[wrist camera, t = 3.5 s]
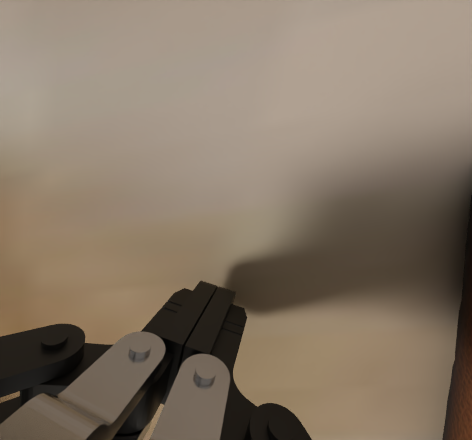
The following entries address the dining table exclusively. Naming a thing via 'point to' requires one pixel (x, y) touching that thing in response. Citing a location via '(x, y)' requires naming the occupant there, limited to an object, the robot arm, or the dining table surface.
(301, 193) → the dining table surface
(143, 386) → the robot arm
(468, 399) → the sunglasses case
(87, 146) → the dining table surface
